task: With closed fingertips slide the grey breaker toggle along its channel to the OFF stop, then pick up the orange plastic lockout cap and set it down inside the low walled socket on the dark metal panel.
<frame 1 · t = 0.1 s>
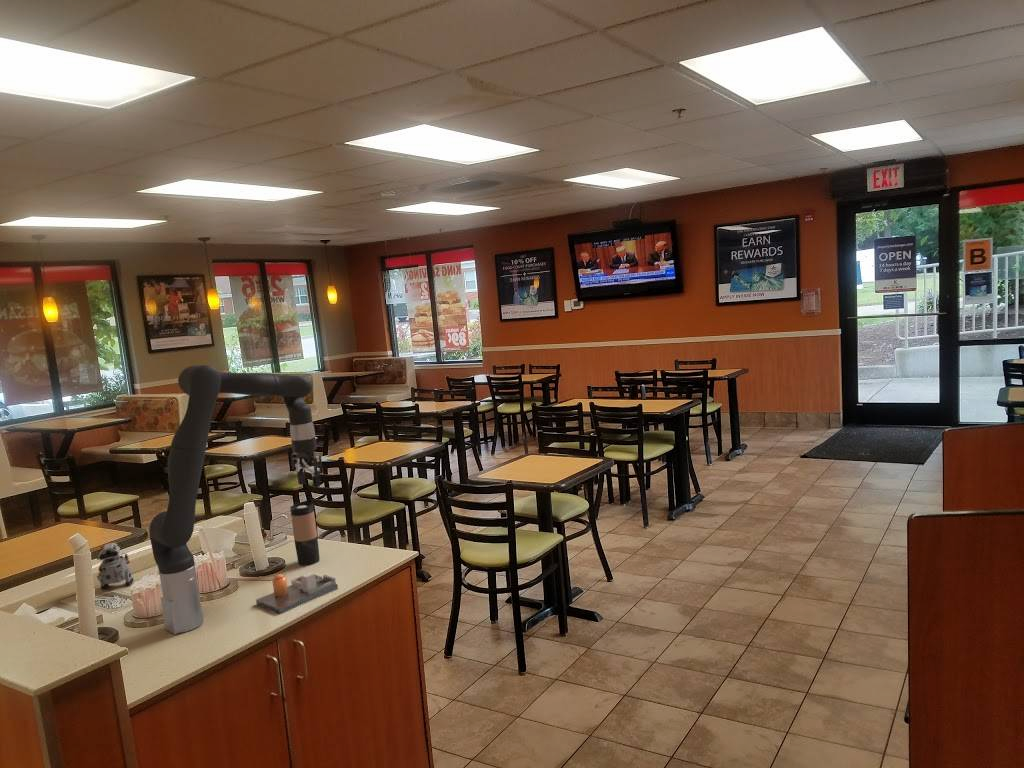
hand: (309, 485, 234), 29 cm above the counter, fingers open, 8 cm apart
travel mug: (309, 562, 248), on the counter
lockout cap: (281, 593, 218), point 1 cm above the counter, touching panel
breaker toggle: (308, 582, 218), point 4 cm above the counter, slide at 0.0 cm
figurine: (115, 588, 240), on the counter
panel: (297, 596, 219), on the counter
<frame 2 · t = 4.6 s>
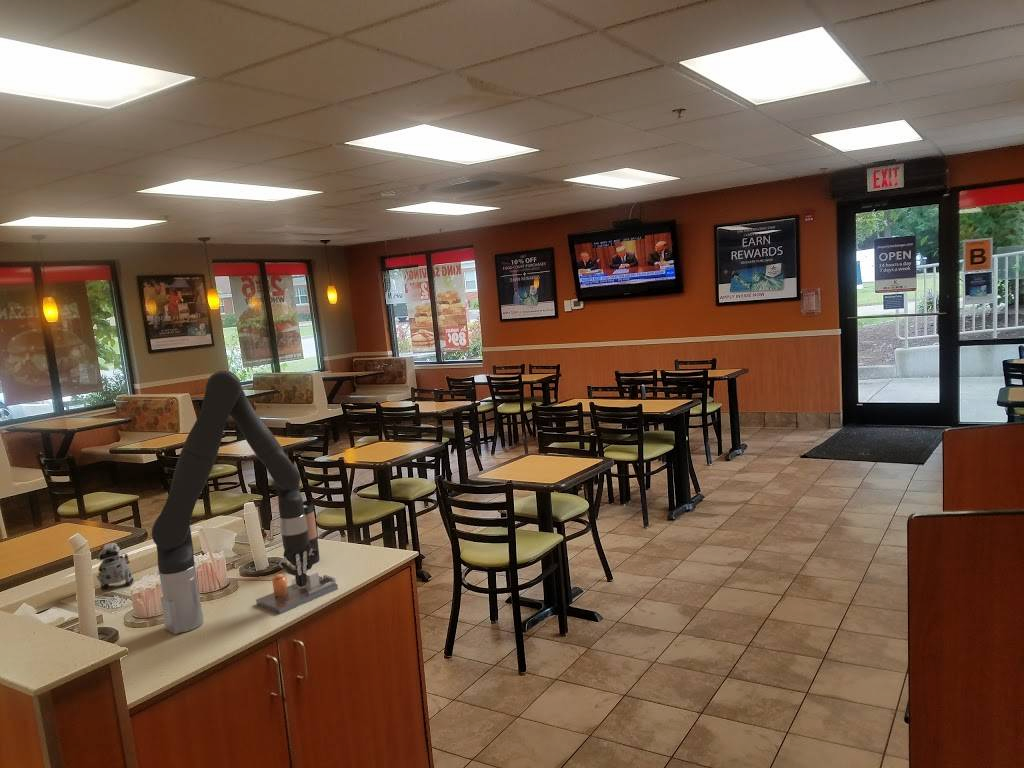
hand: (302, 585, 216), 4 cm above the counter, fingers closed
breaker toggle: (312, 581, 219), point 4 cm above the counter, slide at 1.1 cm, touching gripper
everything else where it was.
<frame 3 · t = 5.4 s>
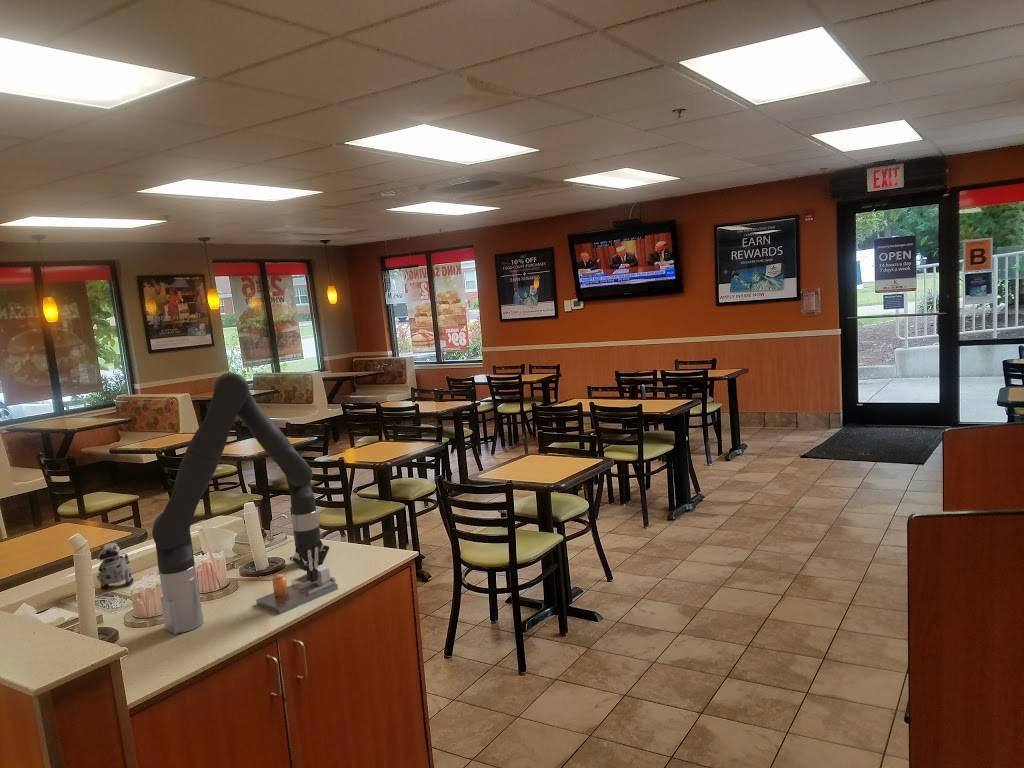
hand: (313, 580, 219), 4 cm above the counter, fingers closed
breaker toggle: (323, 576, 222), point 4 cm above the counter, slide at 5.1 cm, touching gripper
everything else where it was.
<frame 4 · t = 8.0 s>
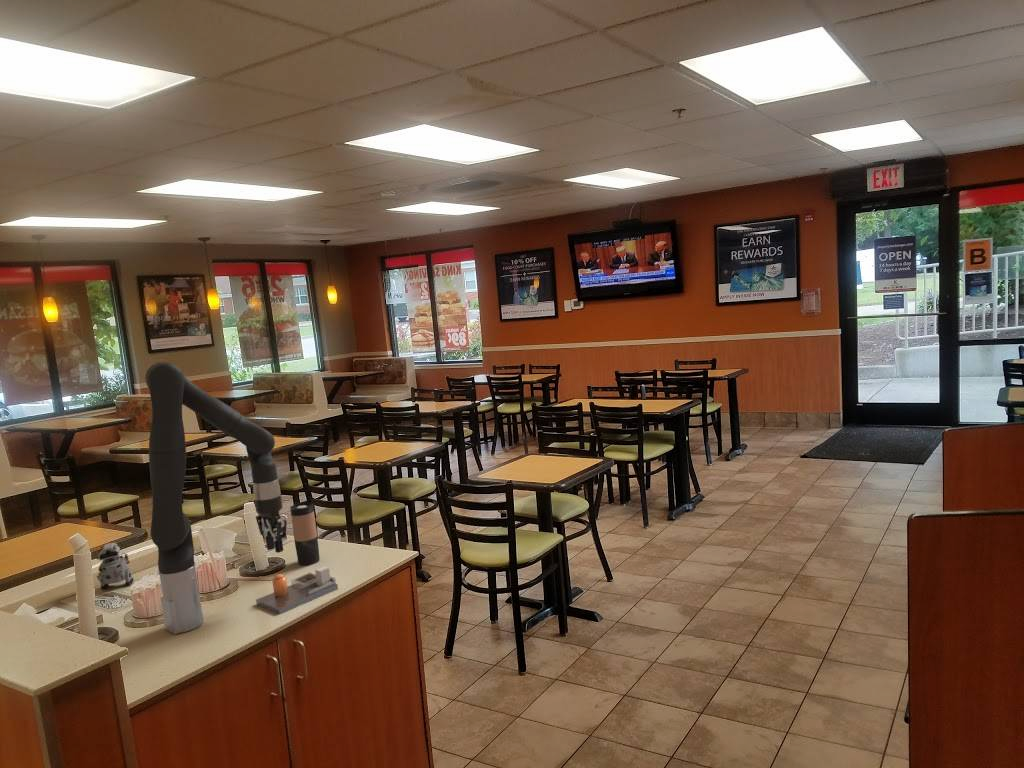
hand: (275, 550, 216), 15 cm above the counter, fingers open, 4 cm apart
breaker toggle: (323, 576, 222), point 4 cm above the counter, slide at 5.0 cm
everything else where it was.
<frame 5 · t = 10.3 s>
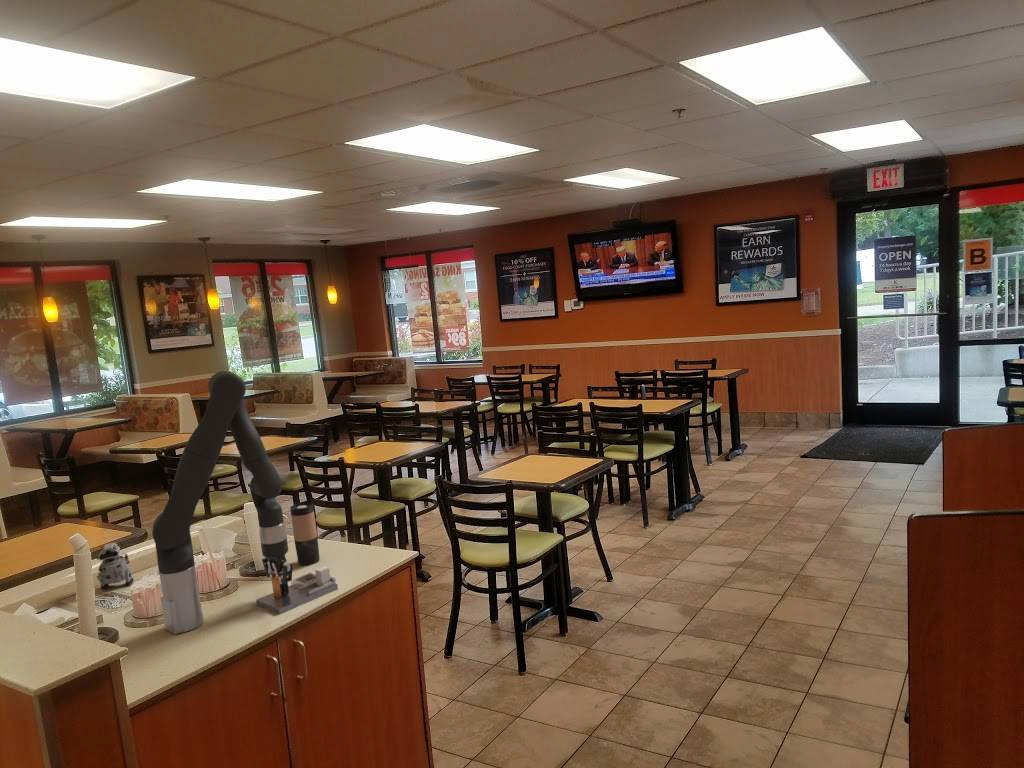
hand: (281, 592, 218), 2 cm above the counter, fingers closed on lockout cap, 4 cm apart
lockout cap: (281, 593, 218), point 2 cm above the counter, touching gripper, panel
everything else where it was.
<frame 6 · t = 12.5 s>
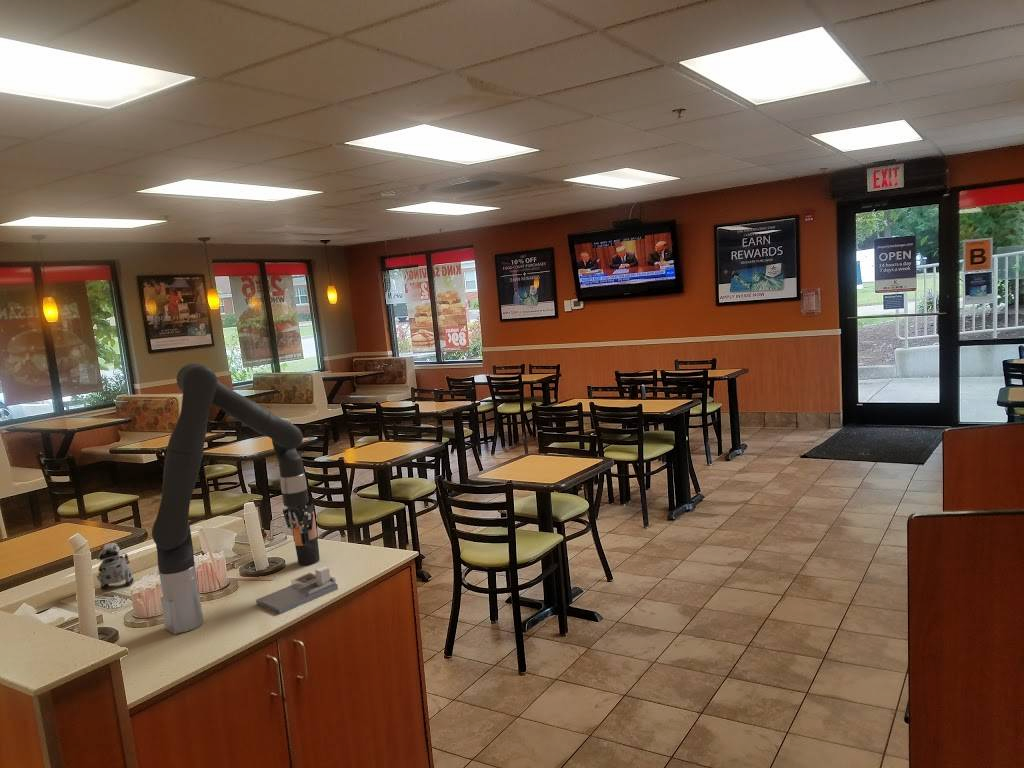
hand: (301, 542, 223), 15 cm above the counter, fingers closed on lockout cap, 4 cm apart
lockout cap: (301, 543, 223), point 14 cm above the counter, touching gripper
everything else where it was.
when the fingers open (3 cm above the counter, at t = 14.8 s): lockout cap drops 1 cm, resting on panel.
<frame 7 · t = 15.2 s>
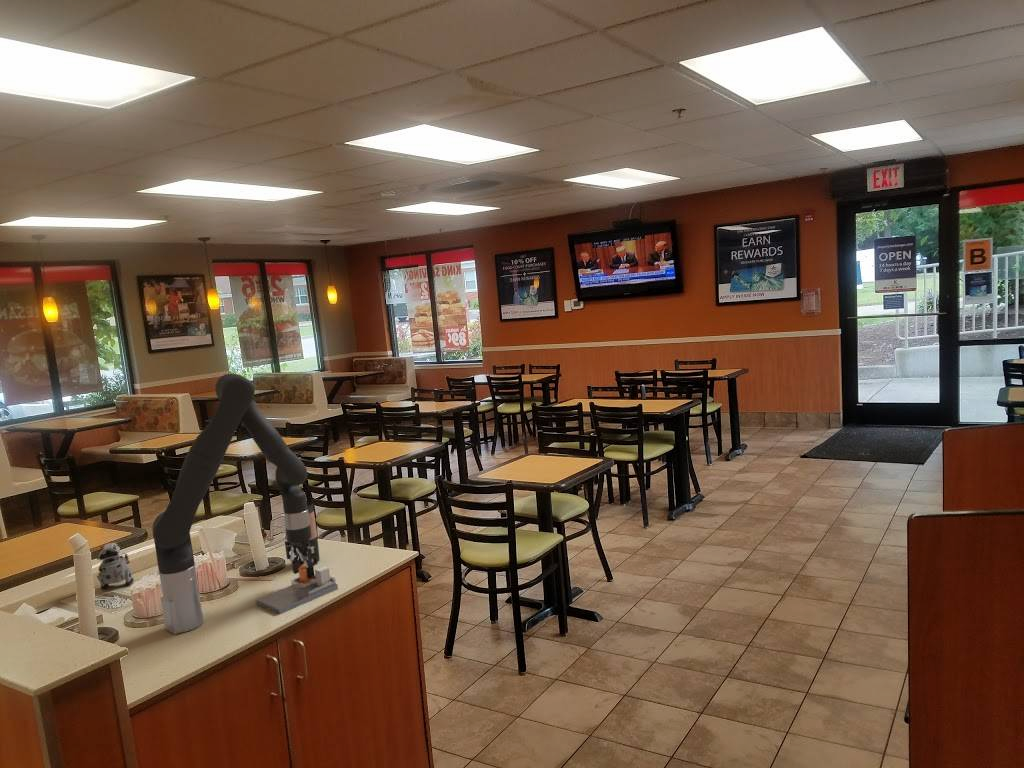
hand: (303, 575, 225), 4 cm above the counter, fingers open, 7 cm apart
lockout cap: (307, 582, 225), point 2 cm above the counter, touching panel
breaker toggle: (322, 576, 222), point 4 cm above the counter, slide at 5.0 cm, touching gripper
everything else where it was.
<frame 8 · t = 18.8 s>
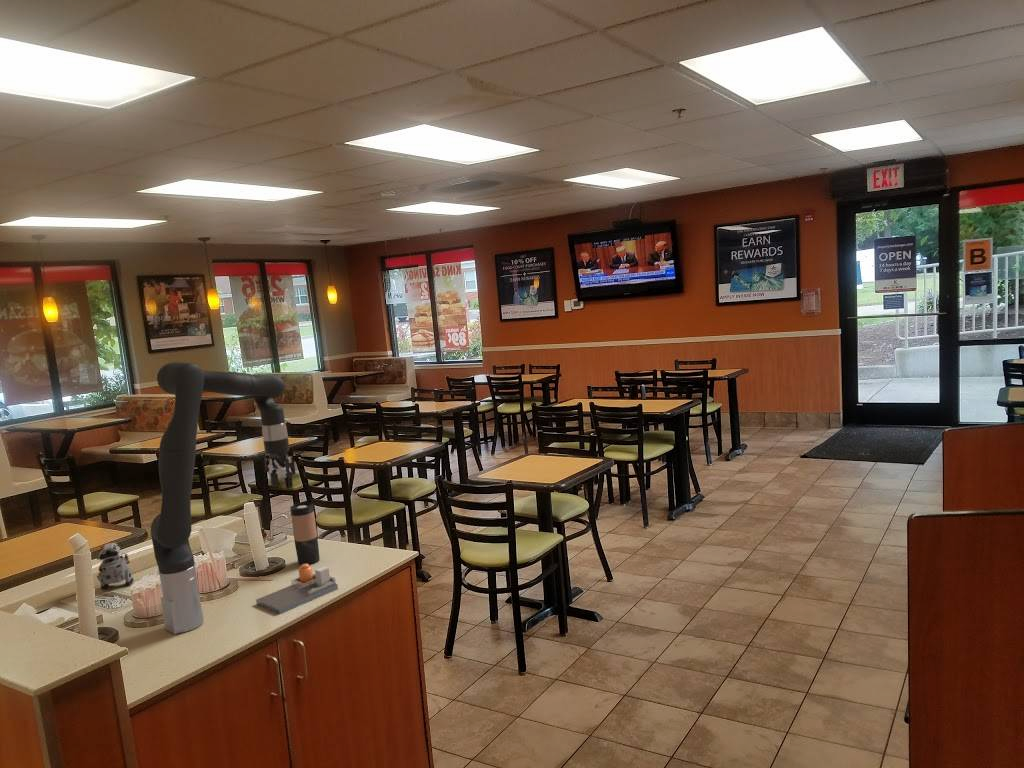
hand: (282, 486, 232), 30 cm above the counter, fingers open, 8 cm apart
breaker toggle: (322, 576, 221), point 4 cm above the counter, slide at 4.9 cm
everything else where it was.
at the end: breaker toggle slide at 4.9 cm; lockout cap 0.1 cm from the target spot on the panel, point 1.6 cm above the panel's base; lockout cap tilted 0° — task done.
